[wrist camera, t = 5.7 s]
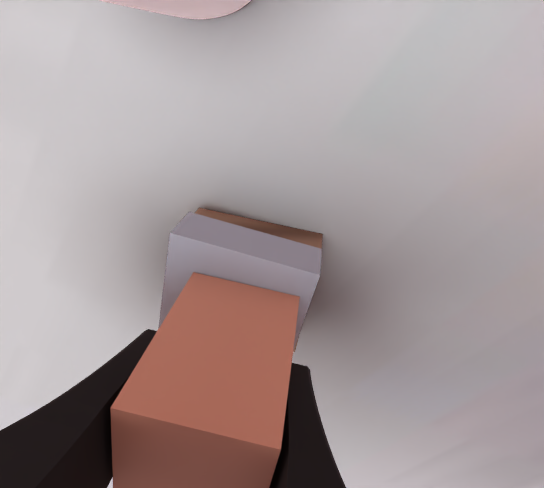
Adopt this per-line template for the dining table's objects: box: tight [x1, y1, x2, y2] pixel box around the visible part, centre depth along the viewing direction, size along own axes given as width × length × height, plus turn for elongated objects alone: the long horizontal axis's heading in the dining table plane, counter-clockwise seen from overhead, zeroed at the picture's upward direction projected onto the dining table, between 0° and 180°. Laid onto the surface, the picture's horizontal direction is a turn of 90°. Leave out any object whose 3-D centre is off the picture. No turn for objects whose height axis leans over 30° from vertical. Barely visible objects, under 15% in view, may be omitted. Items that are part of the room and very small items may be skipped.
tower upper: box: [158, 212, 322, 351], centre depth 16 cm, size 6×6×2 cm
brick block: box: [110, 272, 300, 488], centre depth 12 cm, size 4×4×6 cm
